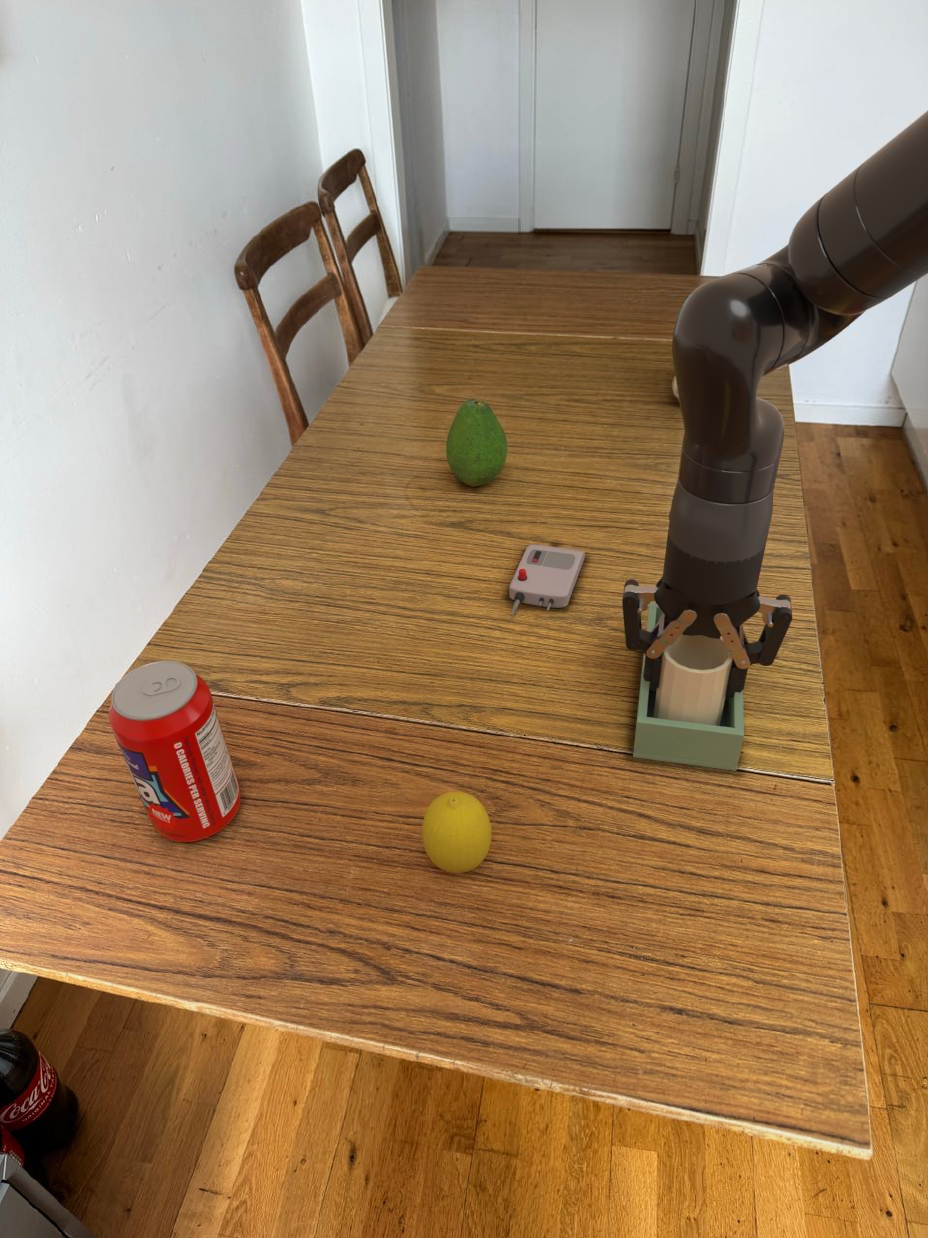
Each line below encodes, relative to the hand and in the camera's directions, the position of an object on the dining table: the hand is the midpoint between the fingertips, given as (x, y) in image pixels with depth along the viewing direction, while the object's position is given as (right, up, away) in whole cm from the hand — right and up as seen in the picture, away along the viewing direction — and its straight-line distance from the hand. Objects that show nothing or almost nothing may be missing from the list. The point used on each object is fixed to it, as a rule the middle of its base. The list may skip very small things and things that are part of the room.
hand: (692, 686), depth 80 cm
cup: (0, -4, +3) cm, 5 cm away
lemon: (-21, -14, -7) cm, 26 cm away
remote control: (-11, +10, +22) cm, 27 cm away
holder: (+1, -2, +7) cm, 7 cm away
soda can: (-44, -11, -2) cm, 45 cm away
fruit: (-19, +24, +40) cm, 51 cm away
